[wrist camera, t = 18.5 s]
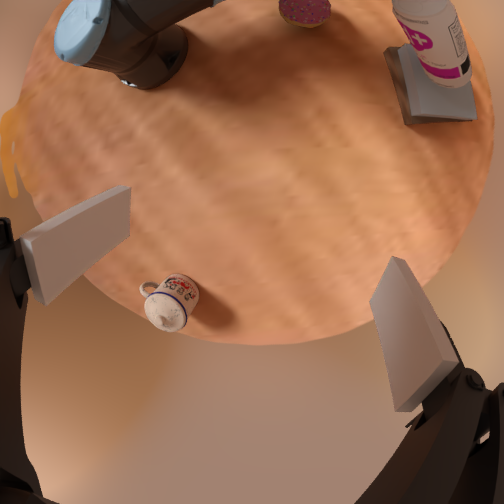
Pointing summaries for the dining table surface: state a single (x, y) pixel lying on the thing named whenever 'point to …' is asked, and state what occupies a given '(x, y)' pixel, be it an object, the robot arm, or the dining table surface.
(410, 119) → the tower base slab
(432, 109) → the tower top slab
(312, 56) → the dining table surface
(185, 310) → the teacup with lid
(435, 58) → the supplement can
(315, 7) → the cupcake
